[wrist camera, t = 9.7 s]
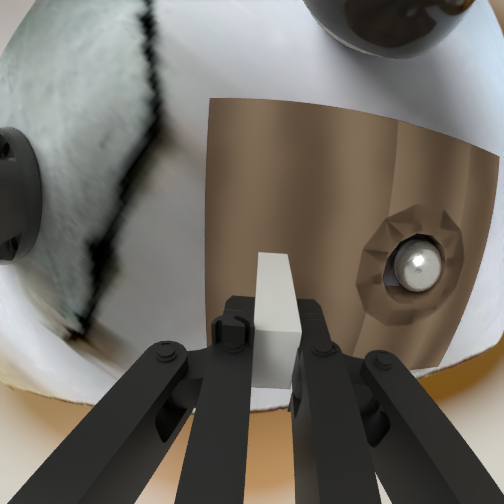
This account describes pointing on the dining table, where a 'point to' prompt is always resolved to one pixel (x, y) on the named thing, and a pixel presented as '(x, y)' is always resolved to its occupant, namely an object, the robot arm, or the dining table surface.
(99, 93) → the dining table surface
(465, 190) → the walnut board
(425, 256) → the steel ball
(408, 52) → the pump dispenser
